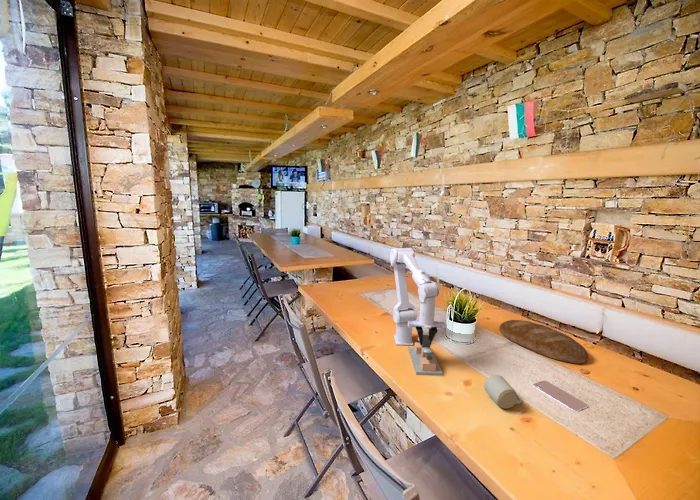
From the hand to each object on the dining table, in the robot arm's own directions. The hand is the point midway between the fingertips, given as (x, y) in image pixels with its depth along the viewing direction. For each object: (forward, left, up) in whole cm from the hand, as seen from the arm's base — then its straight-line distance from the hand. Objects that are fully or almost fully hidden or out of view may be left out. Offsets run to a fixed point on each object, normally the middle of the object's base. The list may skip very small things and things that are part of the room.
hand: (425, 343), depth 120 cm
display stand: (0, 0, -8) cm, 8 cm away
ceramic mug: (+23, +21, -8) cm, 32 cm away
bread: (-18, +57, -8) cm, 61 cm away
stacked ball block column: (0, 0, -2) cm, 2 cm away
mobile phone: (+19, +42, -8) cm, 47 cm away
